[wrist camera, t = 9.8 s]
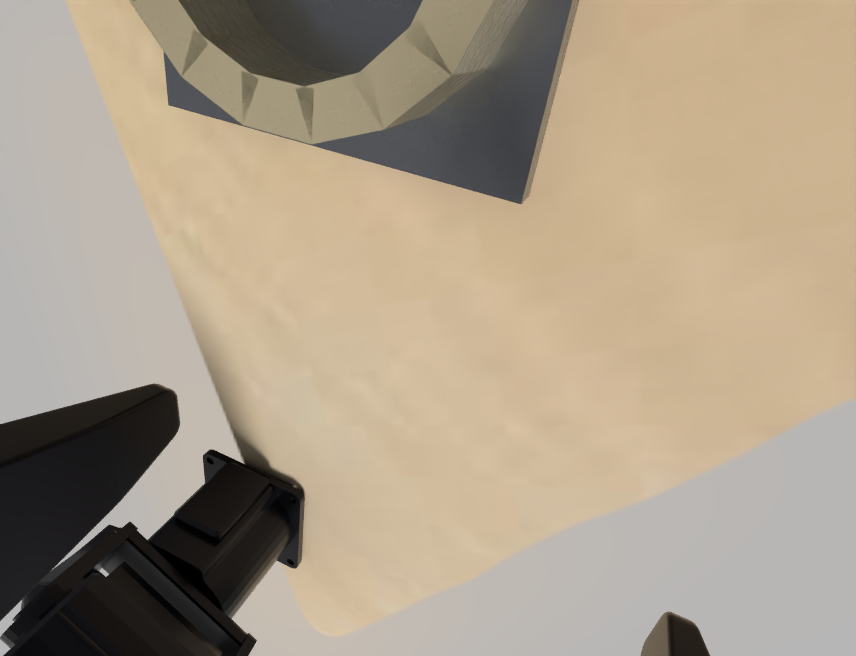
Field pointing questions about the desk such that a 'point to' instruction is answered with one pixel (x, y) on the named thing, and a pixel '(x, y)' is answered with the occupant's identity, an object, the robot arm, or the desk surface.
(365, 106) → the collar station
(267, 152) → the desk surface
